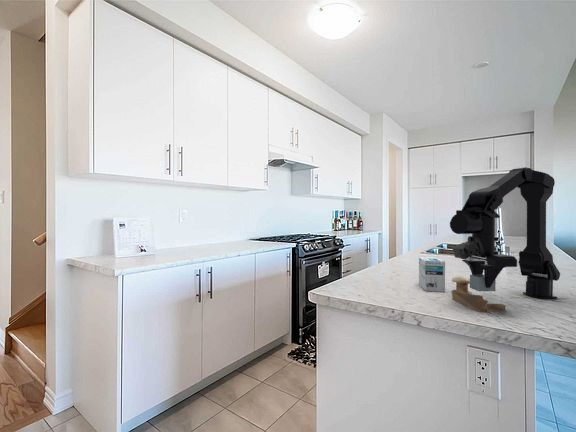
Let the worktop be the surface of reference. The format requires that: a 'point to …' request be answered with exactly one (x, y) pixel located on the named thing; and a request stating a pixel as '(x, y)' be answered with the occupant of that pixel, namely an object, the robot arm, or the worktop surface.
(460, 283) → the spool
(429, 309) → the worktop surface
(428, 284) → the light bulb box
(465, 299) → the notched board
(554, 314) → the worktop surface
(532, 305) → the worktop surface
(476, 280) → the blue-grey block
